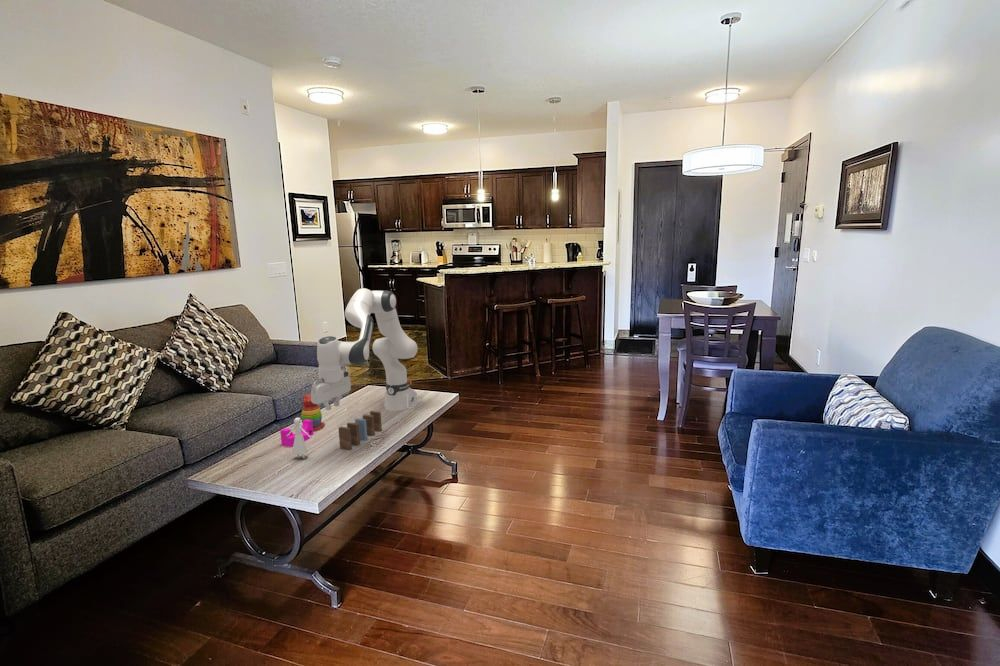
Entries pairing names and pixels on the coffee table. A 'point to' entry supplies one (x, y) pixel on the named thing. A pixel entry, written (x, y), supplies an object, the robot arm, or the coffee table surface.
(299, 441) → the woman figurine
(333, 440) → the coffee table surface
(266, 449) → the coffee table surface
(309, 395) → the stacking bear
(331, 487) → the coffee table surface
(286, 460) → the coffee table surface
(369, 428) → the domino
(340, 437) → the domino
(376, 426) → the domino
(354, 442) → the domino
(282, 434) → the toy block
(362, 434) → the domino
